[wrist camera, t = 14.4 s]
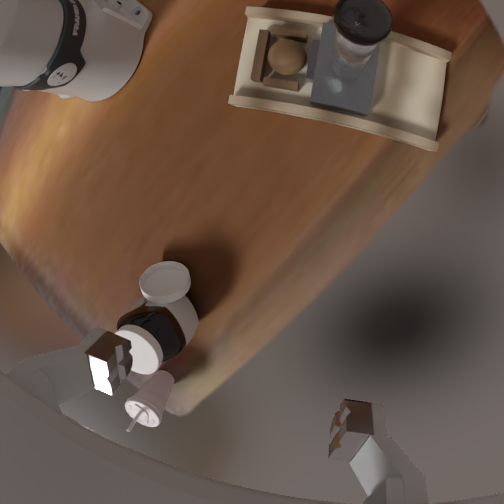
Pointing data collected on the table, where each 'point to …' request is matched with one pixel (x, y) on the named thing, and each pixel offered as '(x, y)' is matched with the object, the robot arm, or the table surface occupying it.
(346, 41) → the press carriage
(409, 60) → the press base
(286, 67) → the walnut
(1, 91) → the table surface
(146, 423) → the smoothie
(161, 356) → the spread jar
